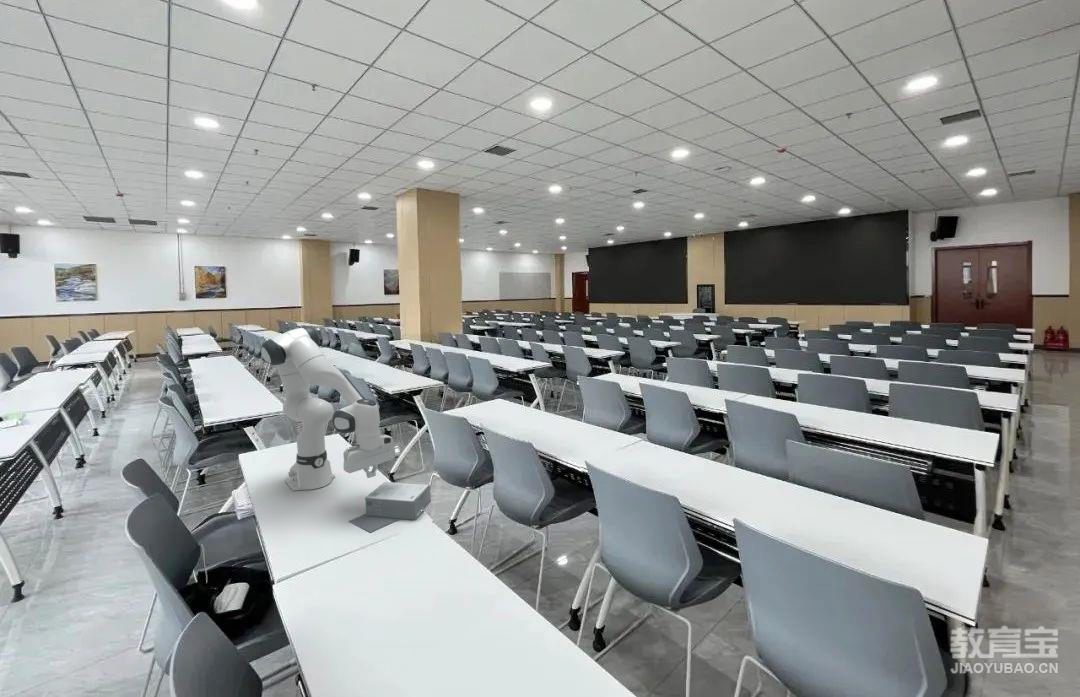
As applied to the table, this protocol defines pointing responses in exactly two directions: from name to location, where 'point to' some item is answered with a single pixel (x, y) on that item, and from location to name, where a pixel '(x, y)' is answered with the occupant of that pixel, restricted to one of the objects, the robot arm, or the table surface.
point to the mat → (372, 522)
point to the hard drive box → (398, 500)
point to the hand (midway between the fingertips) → (371, 476)
